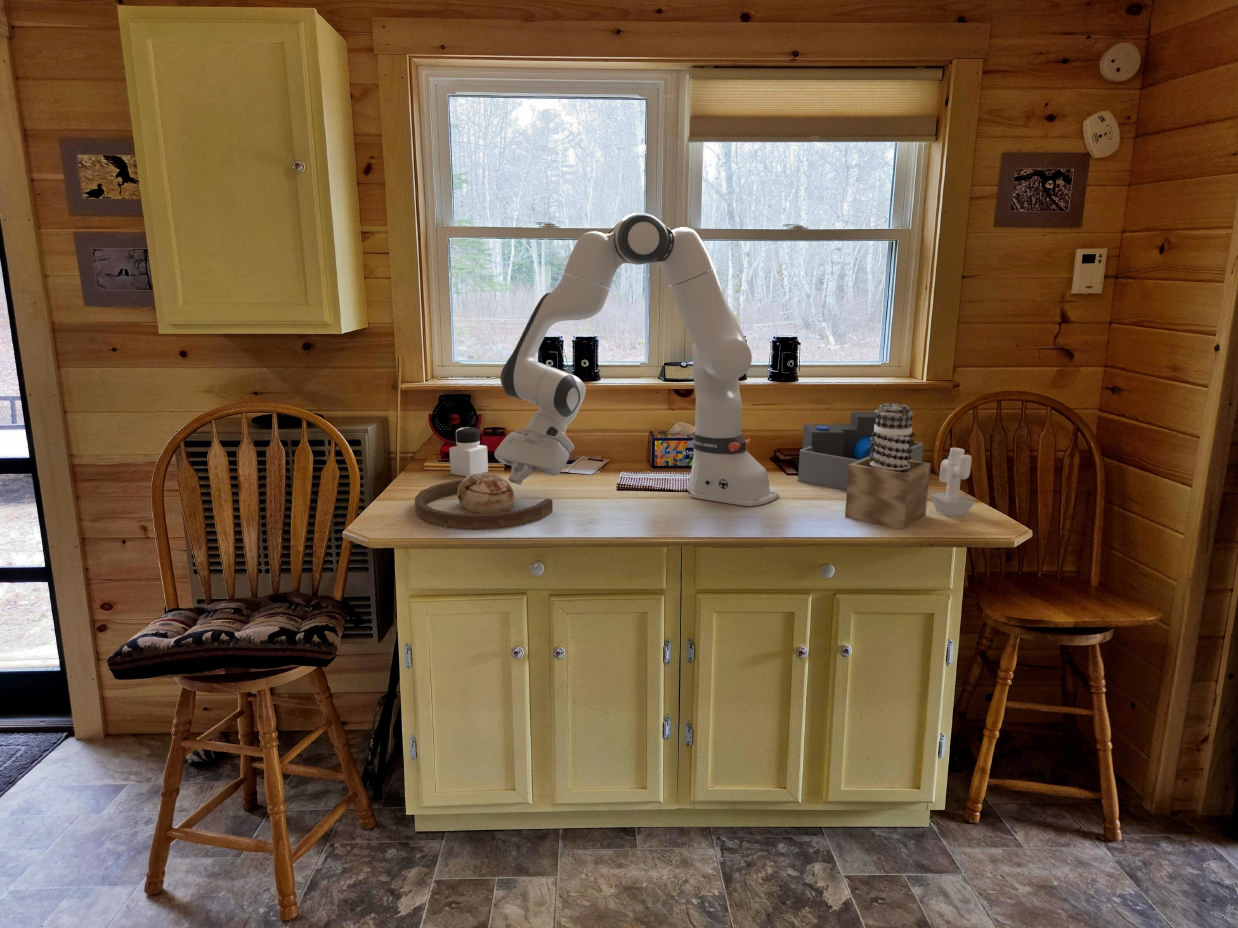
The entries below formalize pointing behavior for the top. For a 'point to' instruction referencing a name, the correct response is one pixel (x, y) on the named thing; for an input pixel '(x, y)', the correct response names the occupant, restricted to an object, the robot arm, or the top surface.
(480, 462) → the medicine bottle
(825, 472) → the tray
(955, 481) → the figurine
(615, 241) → the robot arm
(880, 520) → the wooden box
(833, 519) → the top surface
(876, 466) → the decorative candle
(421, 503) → the brown curved arc
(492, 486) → the trinket box
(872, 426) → the camera
